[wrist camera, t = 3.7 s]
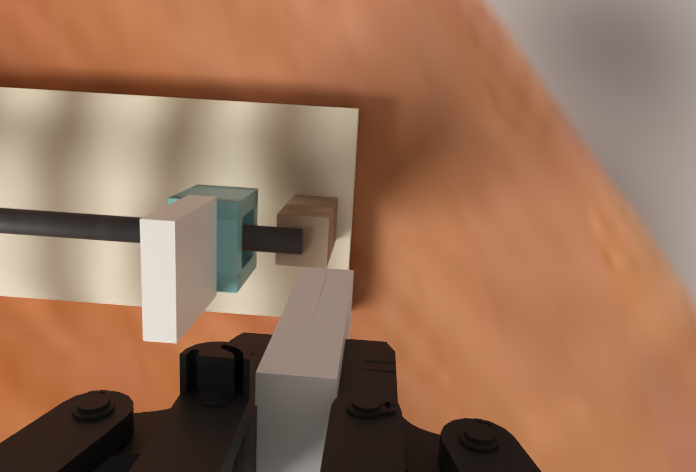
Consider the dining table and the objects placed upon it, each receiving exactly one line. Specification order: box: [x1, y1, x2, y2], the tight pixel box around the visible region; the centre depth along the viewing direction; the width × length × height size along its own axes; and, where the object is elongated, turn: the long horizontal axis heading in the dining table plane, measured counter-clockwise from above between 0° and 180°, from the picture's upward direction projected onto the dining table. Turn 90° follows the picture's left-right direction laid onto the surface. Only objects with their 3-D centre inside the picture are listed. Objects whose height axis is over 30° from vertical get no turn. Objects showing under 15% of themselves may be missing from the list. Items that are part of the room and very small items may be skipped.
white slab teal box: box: [140, 184, 258, 343], centre depth 24 cm, size 3×4×9 cm
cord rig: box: [0, 87, 359, 317], centre depth 29 cm, size 32×12×9 cm, turn 87°
